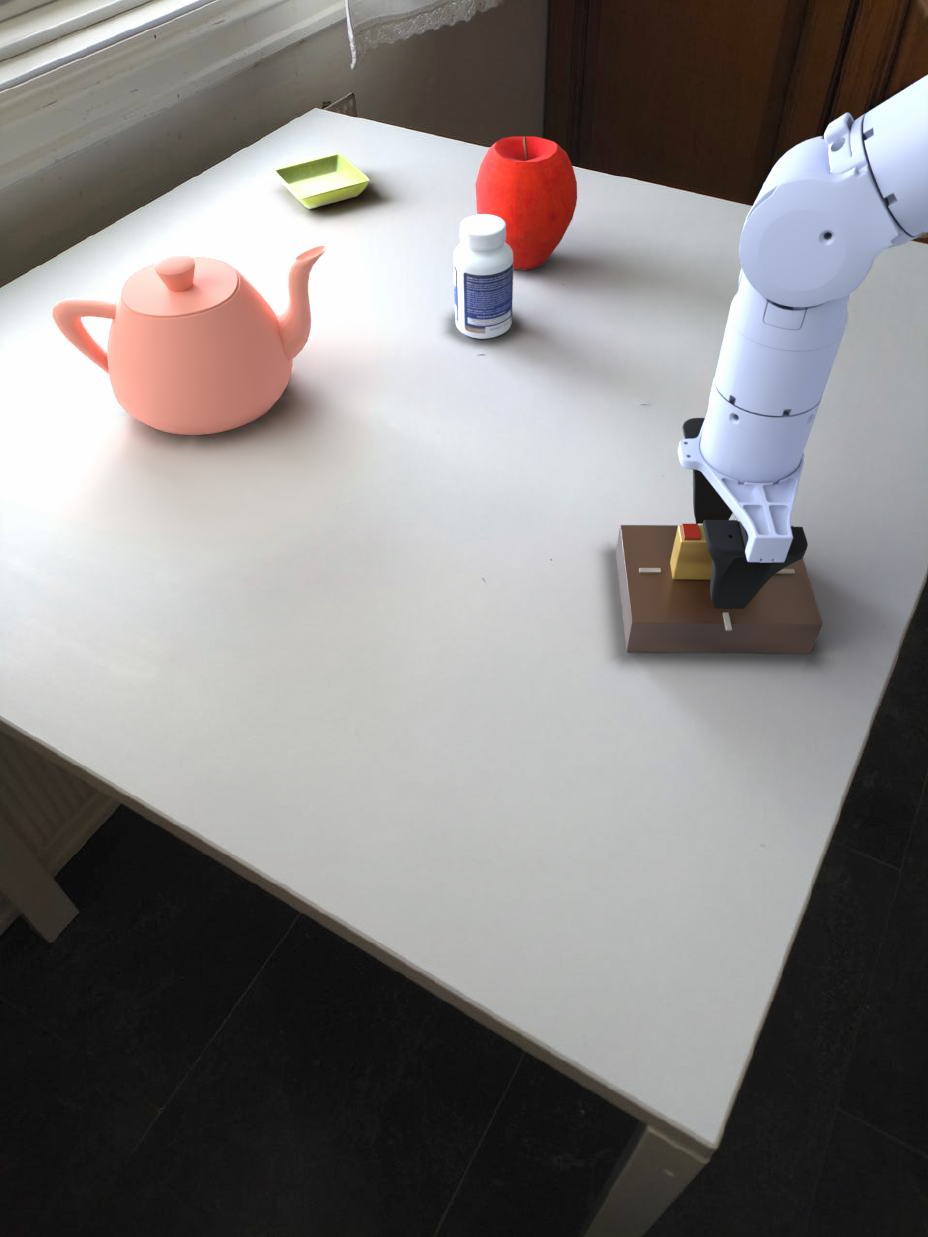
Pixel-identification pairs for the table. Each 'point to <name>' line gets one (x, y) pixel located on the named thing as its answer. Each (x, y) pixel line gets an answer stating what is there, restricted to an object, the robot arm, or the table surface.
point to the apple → (528, 195)
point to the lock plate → (706, 604)
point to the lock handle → (690, 554)
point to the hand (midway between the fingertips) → (718, 560)
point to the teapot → (195, 342)
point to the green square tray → (323, 180)
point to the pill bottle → (483, 277)
